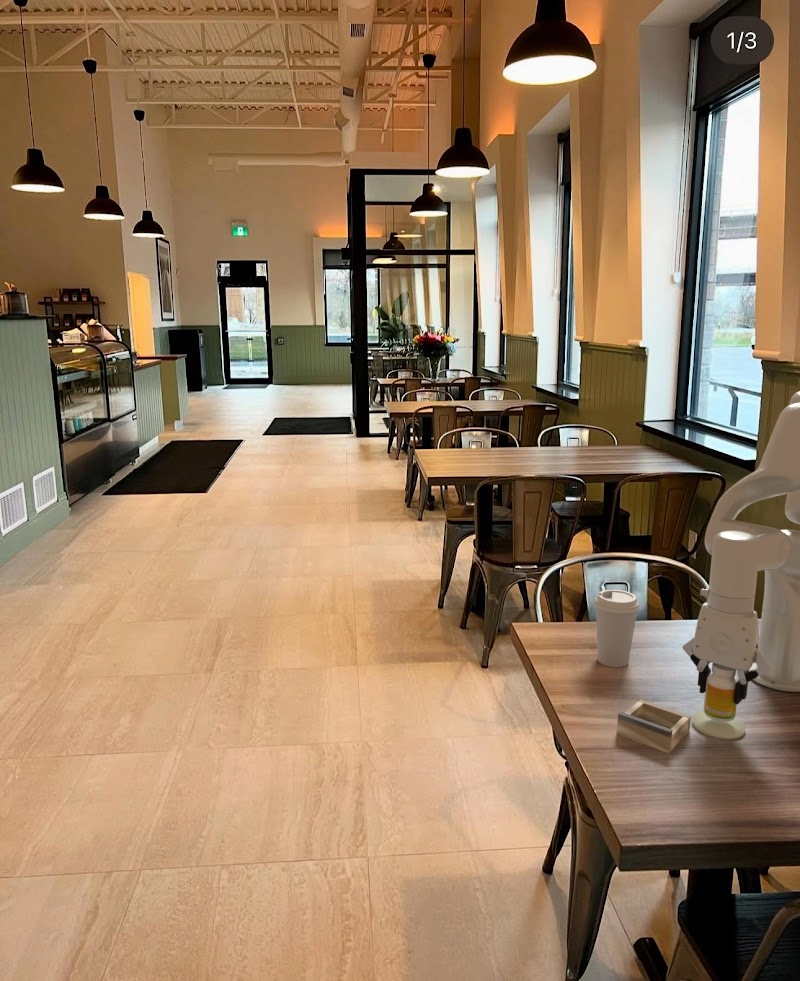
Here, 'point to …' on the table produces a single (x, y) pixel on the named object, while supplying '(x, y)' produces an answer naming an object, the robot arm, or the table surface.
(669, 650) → the table surface
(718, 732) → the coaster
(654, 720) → the can holder
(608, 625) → the coffee cup
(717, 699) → the supplement bottle
